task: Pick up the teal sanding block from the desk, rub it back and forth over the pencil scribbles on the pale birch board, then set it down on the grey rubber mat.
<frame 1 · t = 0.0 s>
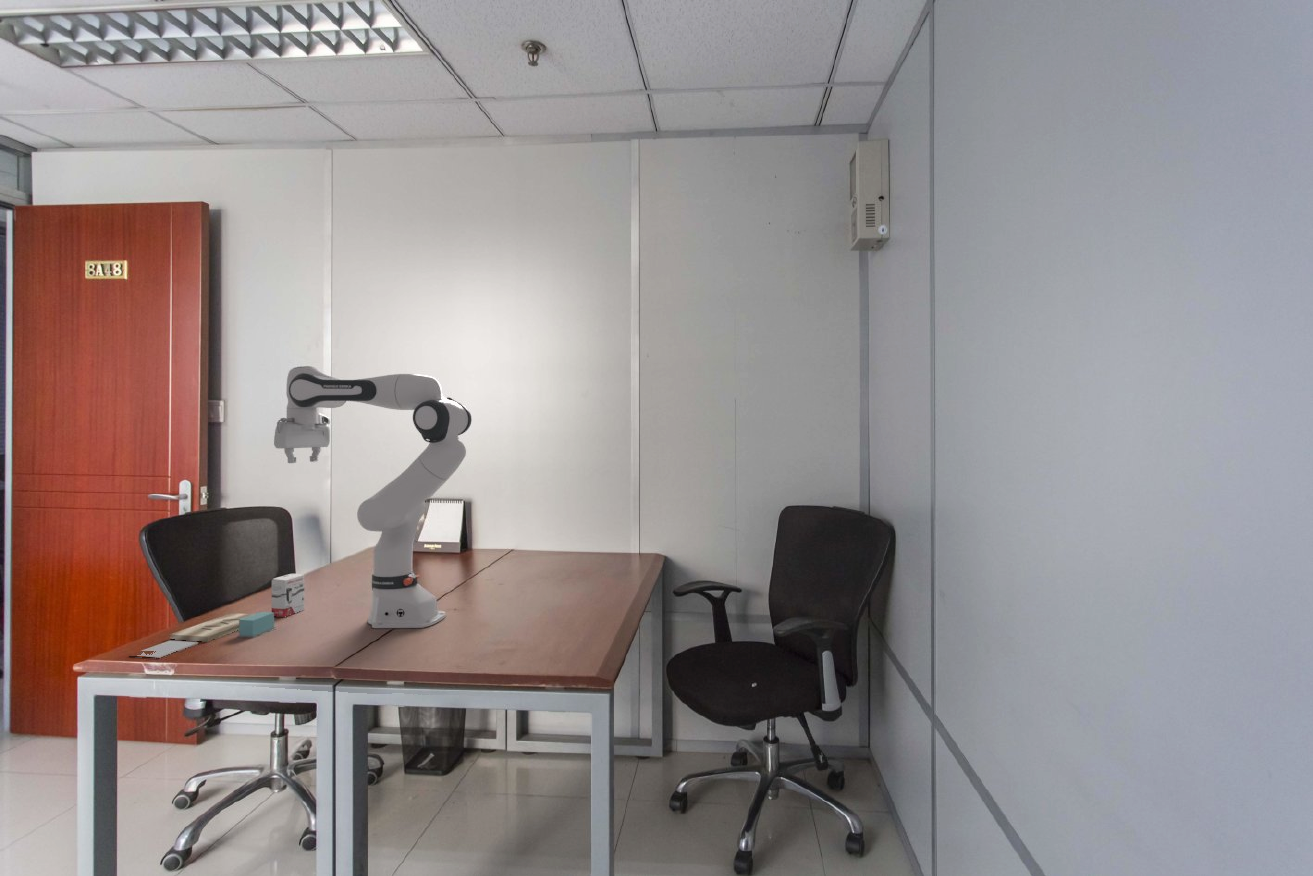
hand: (303, 462, 191), 48 cm above the table, tool pointing down, fingers open, 8 cm apart
birch board: (220, 629, 177), on the table
ink box: (288, 614, 193), on the table
rest mat: (164, 650, 160), on the table
sanding block: (257, 633, 174), on the table
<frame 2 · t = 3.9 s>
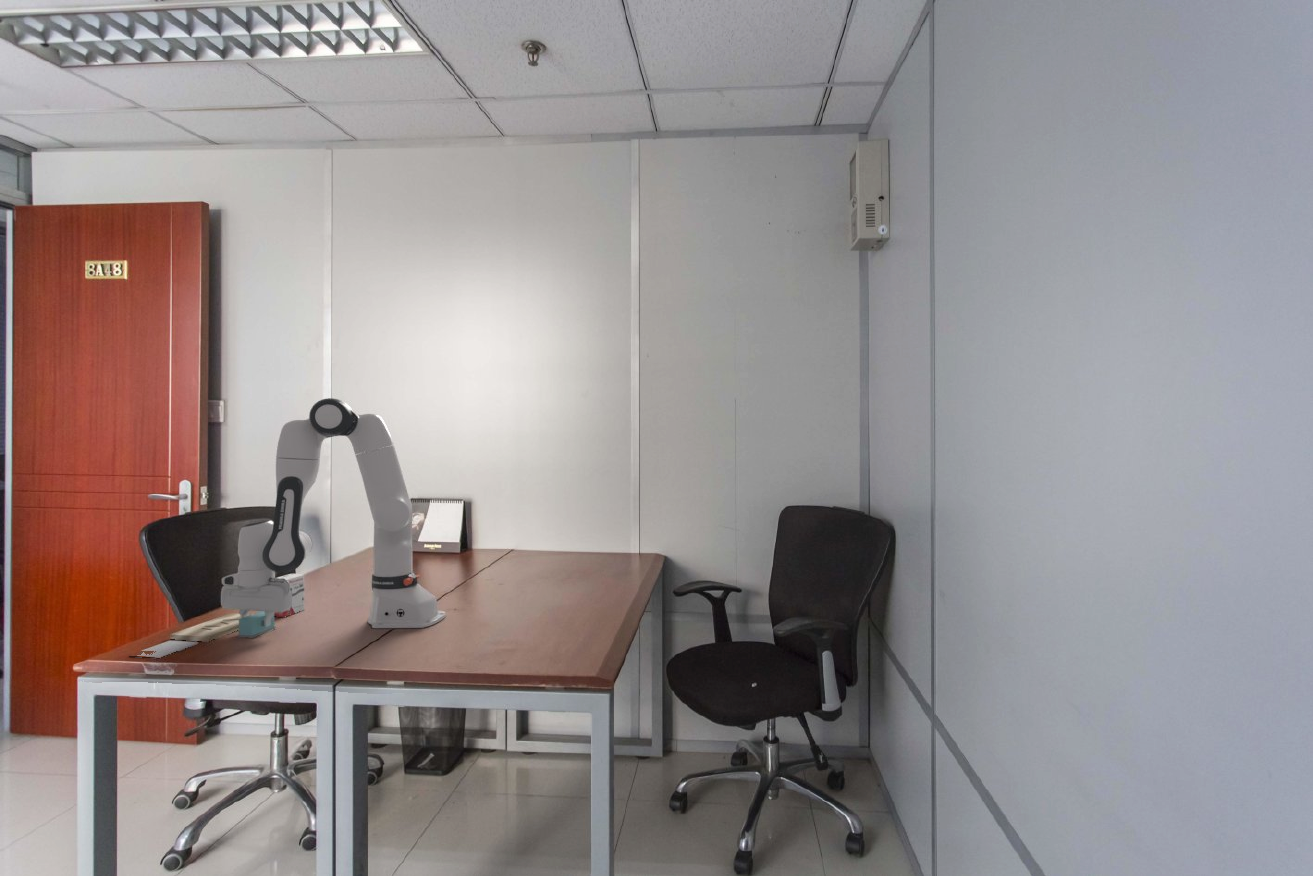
hand: (256, 625, 174), 2 cm above the table, tool pointing down, fingers closed on sanding block, 4 cm apart
sanding block: (257, 632, 174), on the table, touching gripper
everything else where it was.
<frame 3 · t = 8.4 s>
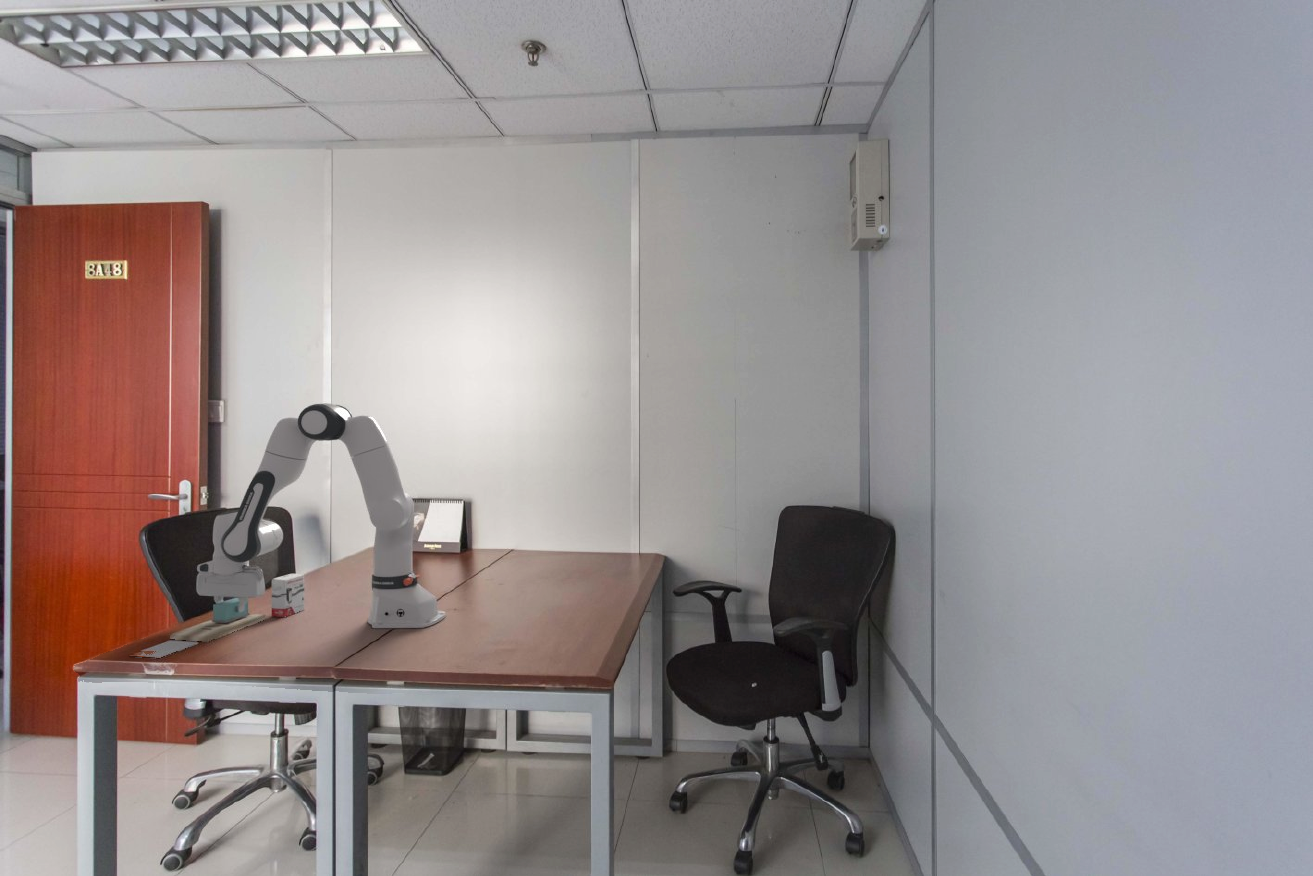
hand: (231, 611, 181), 4 cm above the table, tool pointing down, fingers closed on sanding block, 4 cm apart
sanding block: (230, 618, 181), point 2 cm above the table, touching gripper
everything else where it was.
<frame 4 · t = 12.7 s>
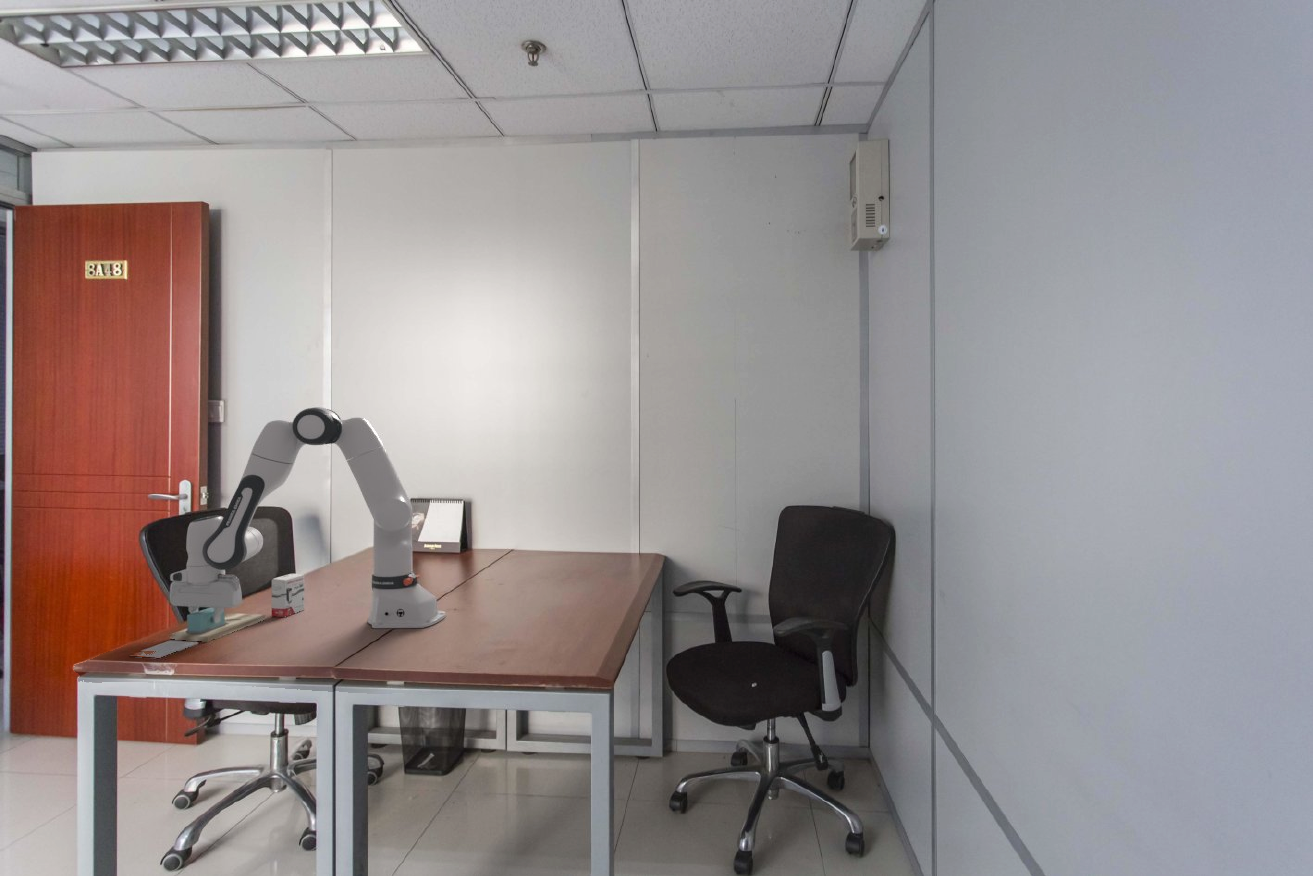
hand: (206, 622, 173), 4 cm above the table, tool pointing down, fingers closed on sanding block, 4 cm apart
sanding block: (206, 629, 172), point 2 cm above the table, touching birch board, gripper
everything else where it was.
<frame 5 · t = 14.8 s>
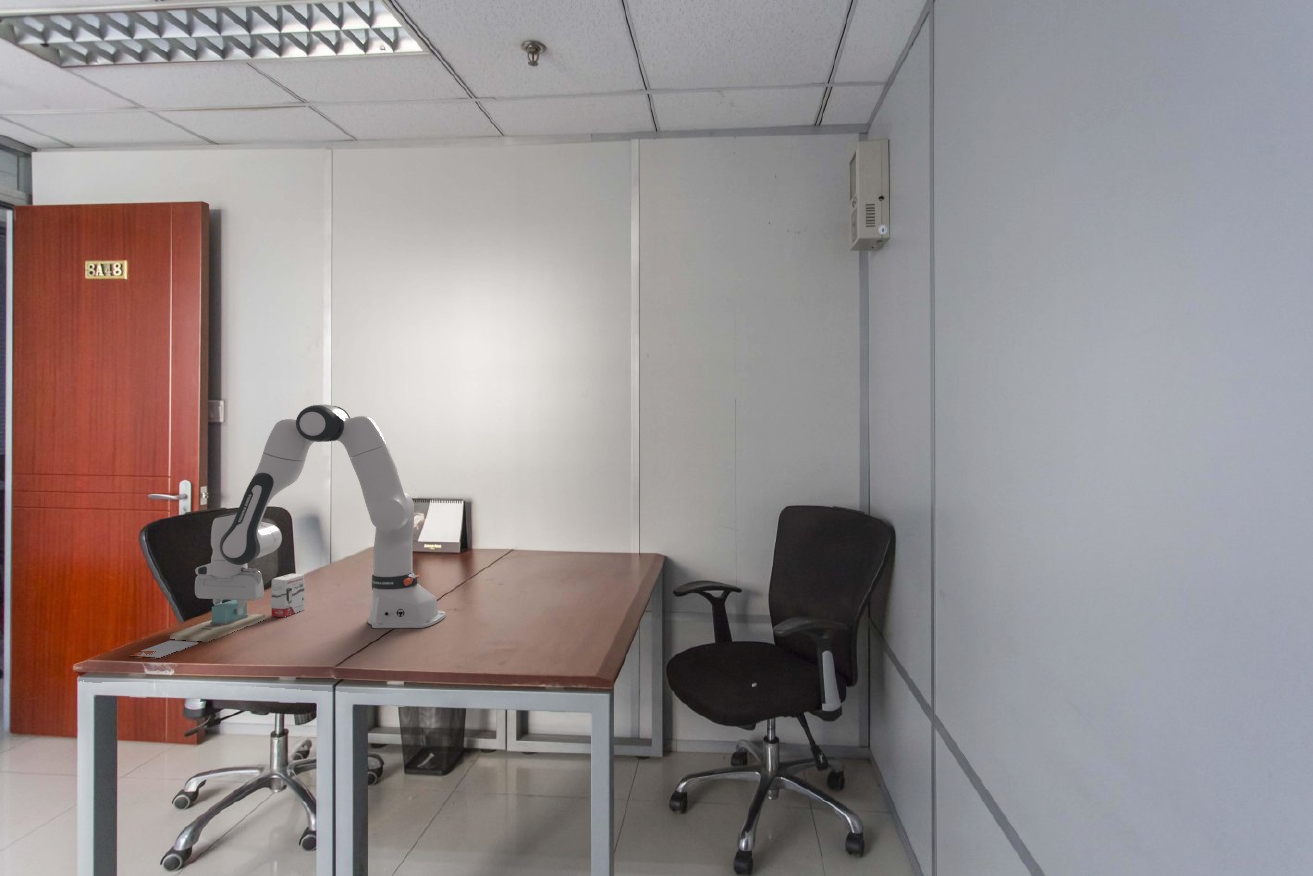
hand: (230, 613, 180), 4 cm above the table, tool pointing down, fingers closed on sanding block, 4 cm apart
sanding block: (229, 620, 180), point 2 cm above the table, touching gripper
everything else where it was.
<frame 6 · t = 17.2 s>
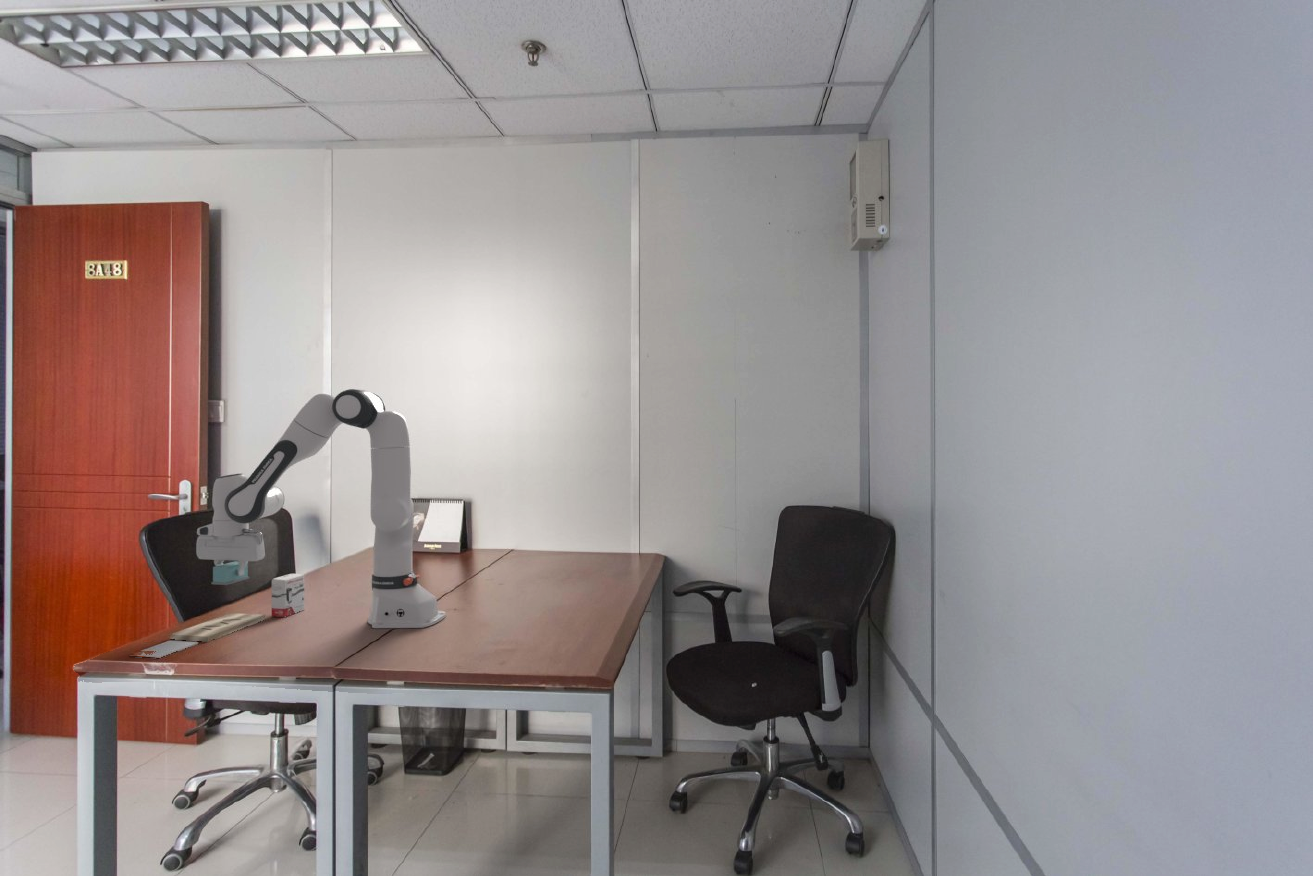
hand: (231, 574, 181), 15 cm above the table, tool pointing down, fingers closed on sanding block, 4 cm apart
sanding block: (230, 581, 181), point 13 cm above the table, touching gripper
everything else where it was.
when the fingers open (4 cm above the table, at t = 21.4 s): sanding block drops 1 cm, resting on rest mat.
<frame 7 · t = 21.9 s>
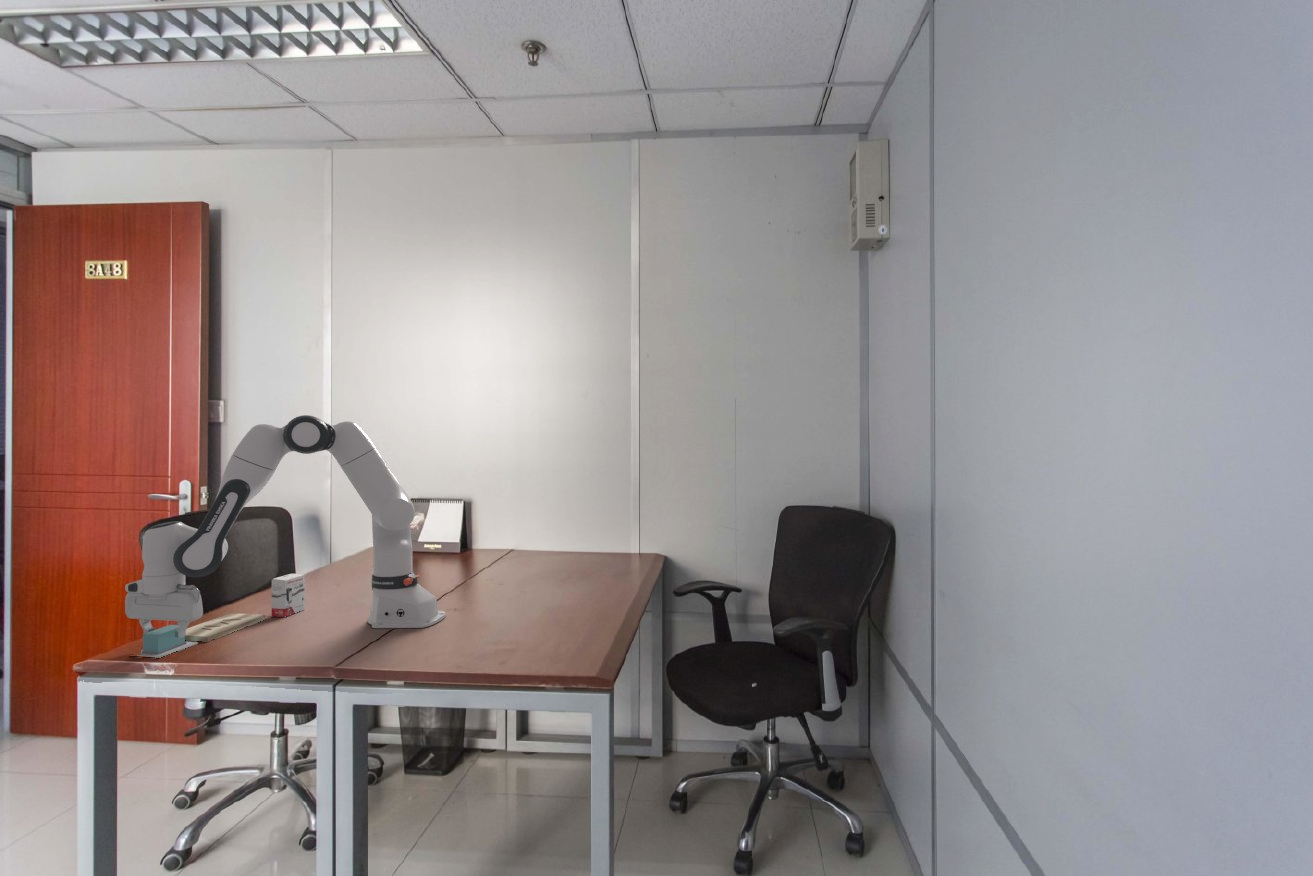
hand: (164, 636, 160), 4 cm above the table, tool pointing down, fingers open, 8 cm apart
sanding block: (164, 648, 160), resting on rest mat
everything else where it was.
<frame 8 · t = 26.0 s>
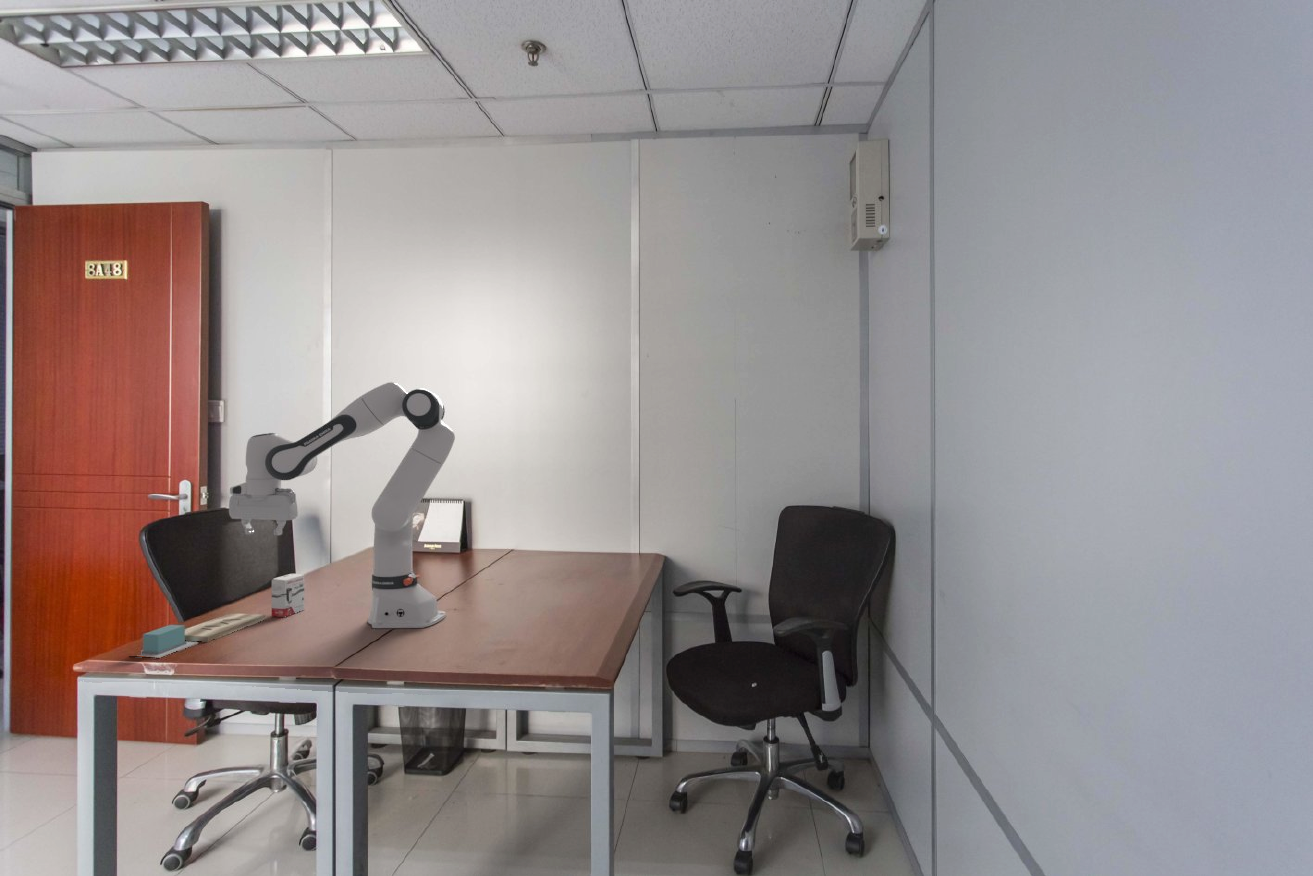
hand: (263, 534, 180), 27 cm above the table, tool pointing down, fingers open, 8 cm apart
nothing on the table moved.
at the end: sanding block inside the target area on the rest mat (0.1 cm from its centre), point 0.4 cm above the rest mat's base; sanding block tilted 0°; the gripper is holding nothing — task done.
